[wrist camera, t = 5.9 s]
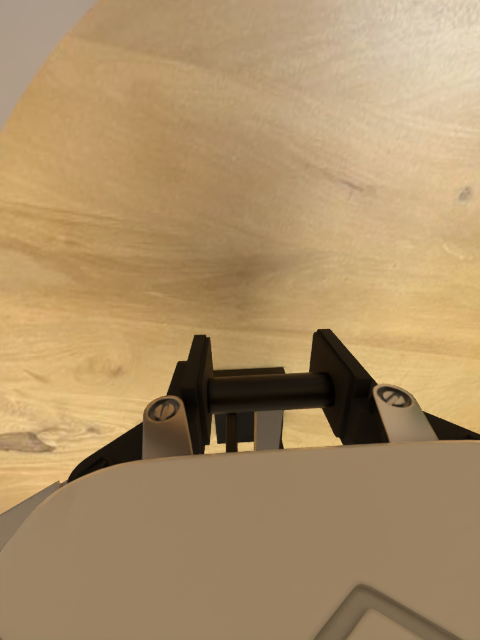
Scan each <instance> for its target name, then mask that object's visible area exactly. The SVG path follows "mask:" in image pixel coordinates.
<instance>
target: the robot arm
mask: <svg viewBox="0 0 480 640" xmlns="http://www.w3.org/2000/svg"><path fill="white" fill-rule="evenodd" d="M309 372H327V373H328V374H329V375H330V377H331V379H332V381H333V385H334V390H335V401H334V405H333V406H332V407H329V408H322V409H323V412H324V414H325V416H326V418H327V420H328V422H329V424H330V426H331V428H332V431H333V433H334V435H335V436H336V437H339V438H340V440H341V442H342V444H343V445H342V446H325V447H308V448H292V449H276V450H260V451H245V452H230V453H215V454H204V451H205V445H210V434H211V422H212V414H209V411H208V404H207V385H208V379H209V378H213V377H214V374H213V363H212V352H211V341H210V337H206V335H194V338H193V342H192V346H191V349H190V353H189V356H188V360H187V361H179V362H178V363H177V365H176V368H175V371H174V374H173V377H172V380H171V383H170V386H169V389H168V392H167V395H166V396H162V397H159V398H157V399H155V400H153V401H152V402H151V403H149V404H148V405H147V407H146V408H145V410H144V414H143V422H142V423H140V424H139V425H137V426H135V427H134V428H132V429H131V430H129V431H128V432H126V433H125V434H123V435H121V436H120V437H118V438H117V439H115V440H114V441H112V442H111V443H109V444H107V445H106V446H104V447H103V448H101V449H100V450H98V451H97V452H95V453H94V454H92V455H90V456H89V457H87V458H86V459H85V460H83V461H82V462H81V463H79V464H78V466H77V467H76V468H75V469H74V470H73V471H72V473H71V475H70V476H69V478H68V480H66V481H65V482H63V483H61V484H60V482H59V481H57V482H55V483H54V484H52V485H50V486H49V487H47V488H45V489H43V490H42V491H40V492H38V493H37V494H35V495H33V496H31V497H30V498H28V499H26V500H25V501H23V502H21V503H19V504H18V505H16V506H14V507H13V508H11V509H9V510H7V511H6V512H4V513H2V514H1V515H0V640H480V434H477V433H475V432H472V431H470V430H468V429H465V428H463V427H460V426H458V425H455V424H453V423H451V422H448V421H446V420H443V419H441V418H438V417H436V416H434V415H431V414H429V413H426V412H424V411H422V410H421V408H420V406H419V404H418V403H417V401H416V399H415V398H414V397H413V395H412V394H410V393H409V392H408V391H406V390H404V389H402V388H400V387H398V386H395V385H390V384H379V385H378V384H377V383H376V382H375V380H374V379H373V378H372V377H371V376H370V375H369V374H368V372H367V371H366V370H365V369H364V368H363V367H362V365H361V364H360V363H359V362H358V361H357V360H356V358H355V357H354V356H353V355H352V354H351V353H350V352H349V350H348V349H347V348H346V347H345V346H344V345H343V343H342V342H341V341H340V340H339V339H338V338H337V336H336V335H335V334H334V333H333V332H332V331H331V330H330V329H318V330H317V332H314V334H313V341H312V350H311V359H310V368H309ZM199 454H200V455H199Z"/></svg>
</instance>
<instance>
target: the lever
mask: <svg viewBox="0 0 480 640" xmlns="http://www.w3.org/2000/svg"><path fill="white" fill-rule="evenodd" d="M334 401H335V390H334V385H333V381H332V379H331V377H330V375H329V374H328V373H327V372H309V373H290V374H271V375H251V376H232V377H213V378H209V379H208V385H207V404H208V411H209V414H222V413H240V412H254V451H260V450H276V449H279V441H280V433H281V424H282V416H283V410H293V409H311V408H329V407H332V406H333V405H334Z"/></svg>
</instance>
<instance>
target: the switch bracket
mask: <svg viewBox="0 0 480 640" xmlns="http://www.w3.org/2000/svg"><path fill="white" fill-rule="evenodd" d="M213 374H214V377H232V376H251V375H271V374H286V373H285V371H284V368H283V367H282V368H262V369H242V370H223V371H213ZM283 412H284V410H283ZM215 424H216V434H217V444H224V443H226V453H230V452H238V443H240V442H254V412H240V413H222V414H215ZM282 429H283V416H282V424H281V433H280V441H279V449H284V447H283V443H282Z"/></svg>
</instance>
